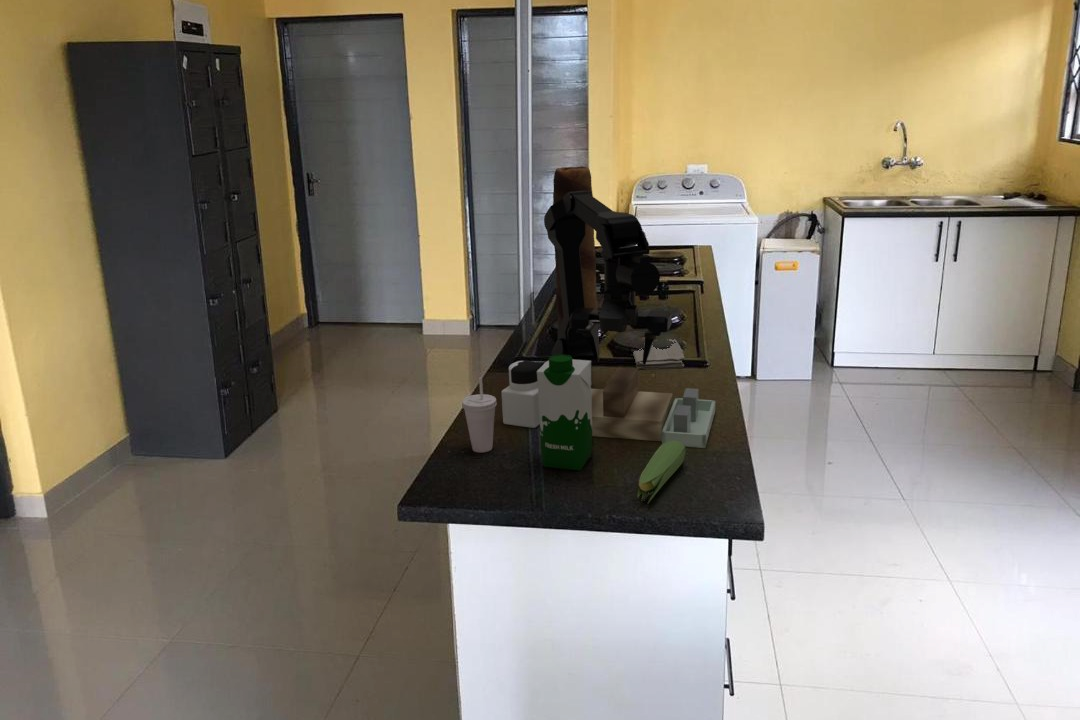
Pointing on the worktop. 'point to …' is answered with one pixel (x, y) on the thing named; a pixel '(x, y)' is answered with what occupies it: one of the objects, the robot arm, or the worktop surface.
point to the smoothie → (480, 419)
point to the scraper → (620, 392)
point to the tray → (698, 428)
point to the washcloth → (661, 358)
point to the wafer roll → (581, 181)
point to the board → (633, 417)
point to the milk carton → (565, 412)
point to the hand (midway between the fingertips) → (620, 362)
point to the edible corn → (661, 467)
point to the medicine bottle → (521, 395)
